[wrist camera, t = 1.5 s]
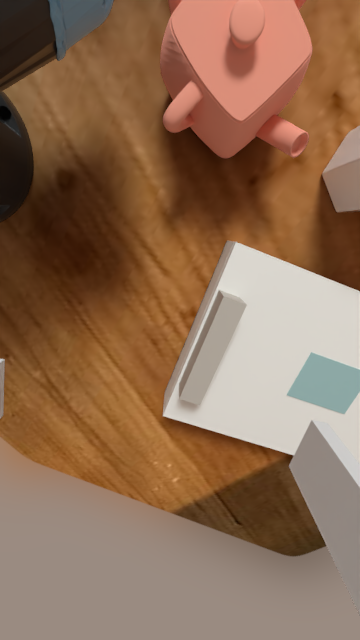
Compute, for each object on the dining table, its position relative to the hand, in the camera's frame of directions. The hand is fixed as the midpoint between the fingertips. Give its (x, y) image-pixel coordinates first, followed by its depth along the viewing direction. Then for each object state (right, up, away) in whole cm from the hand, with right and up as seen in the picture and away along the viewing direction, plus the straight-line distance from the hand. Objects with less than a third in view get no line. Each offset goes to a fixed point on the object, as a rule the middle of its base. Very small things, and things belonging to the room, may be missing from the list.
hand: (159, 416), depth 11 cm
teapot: (+5, +27, +15) cm, 31 cm away
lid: (+16, -2, +20) cm, 26 cm away
